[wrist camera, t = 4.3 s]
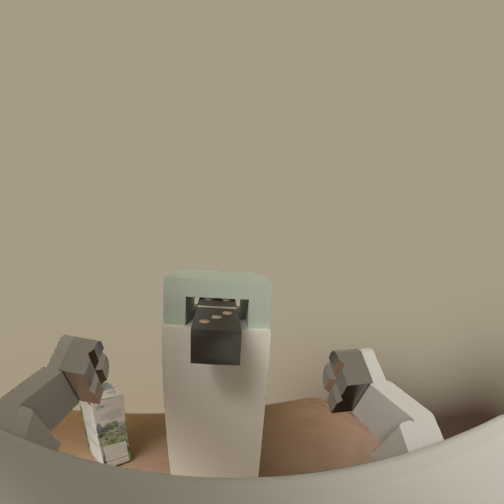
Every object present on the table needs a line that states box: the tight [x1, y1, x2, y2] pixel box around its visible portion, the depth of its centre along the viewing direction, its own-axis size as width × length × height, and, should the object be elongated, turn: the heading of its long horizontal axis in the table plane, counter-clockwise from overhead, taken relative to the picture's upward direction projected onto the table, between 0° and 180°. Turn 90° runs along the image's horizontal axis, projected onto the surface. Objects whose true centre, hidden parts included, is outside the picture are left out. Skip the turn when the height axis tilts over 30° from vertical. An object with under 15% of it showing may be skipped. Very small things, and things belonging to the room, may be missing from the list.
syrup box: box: [79, 381, 132, 466], centre depth 39 cm, size 6×6×14 cm
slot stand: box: [162, 269, 272, 478], centre depth 39 cm, size 12×14×33 cm
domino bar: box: [191, 297, 242, 365], centre depth 30 cm, size 4×14×3 cm, turn 6°
